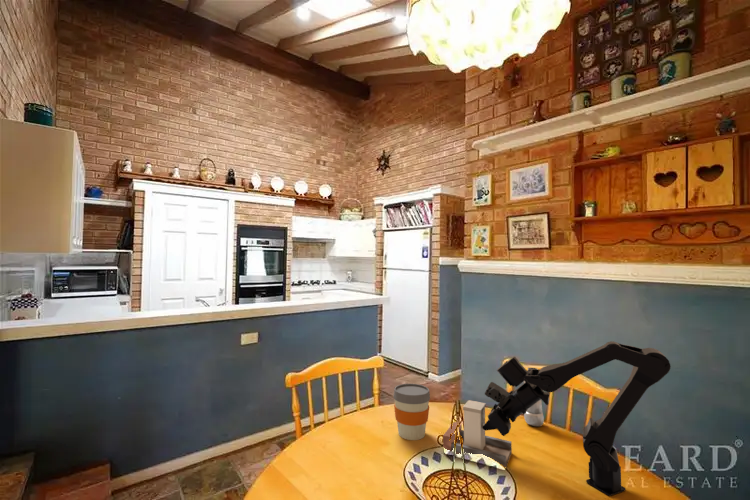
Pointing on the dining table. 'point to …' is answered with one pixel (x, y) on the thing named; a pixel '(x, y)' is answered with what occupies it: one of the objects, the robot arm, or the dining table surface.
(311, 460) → the dining table surface
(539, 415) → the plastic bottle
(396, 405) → the reusable coffee cup
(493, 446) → the track
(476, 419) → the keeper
